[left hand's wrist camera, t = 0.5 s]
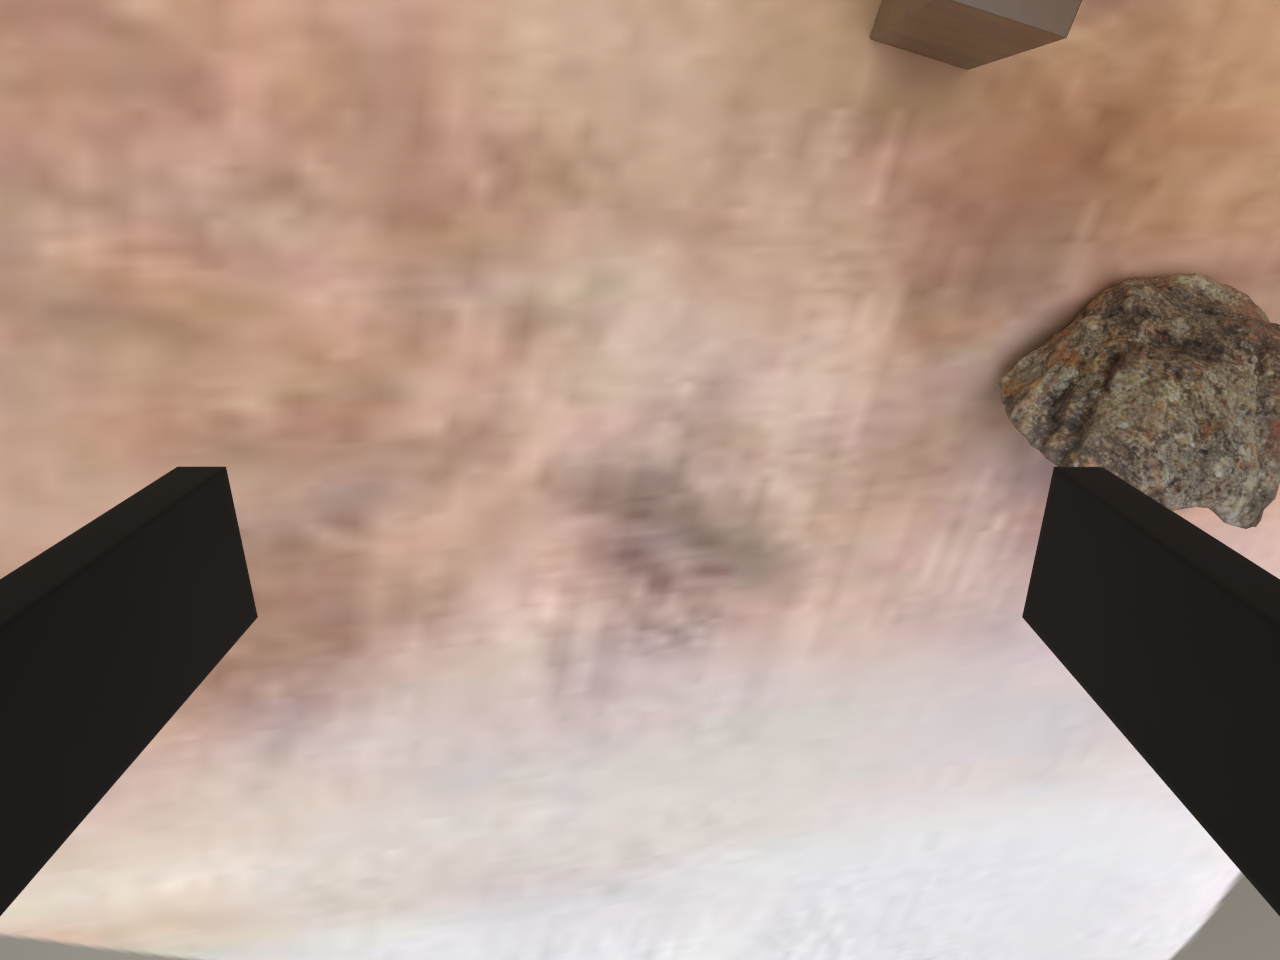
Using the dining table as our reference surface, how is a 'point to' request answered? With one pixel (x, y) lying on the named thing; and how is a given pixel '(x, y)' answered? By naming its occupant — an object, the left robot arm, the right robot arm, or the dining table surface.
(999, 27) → the wooden plank
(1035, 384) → the rock
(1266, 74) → the dining table surface
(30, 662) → the left robot arm
